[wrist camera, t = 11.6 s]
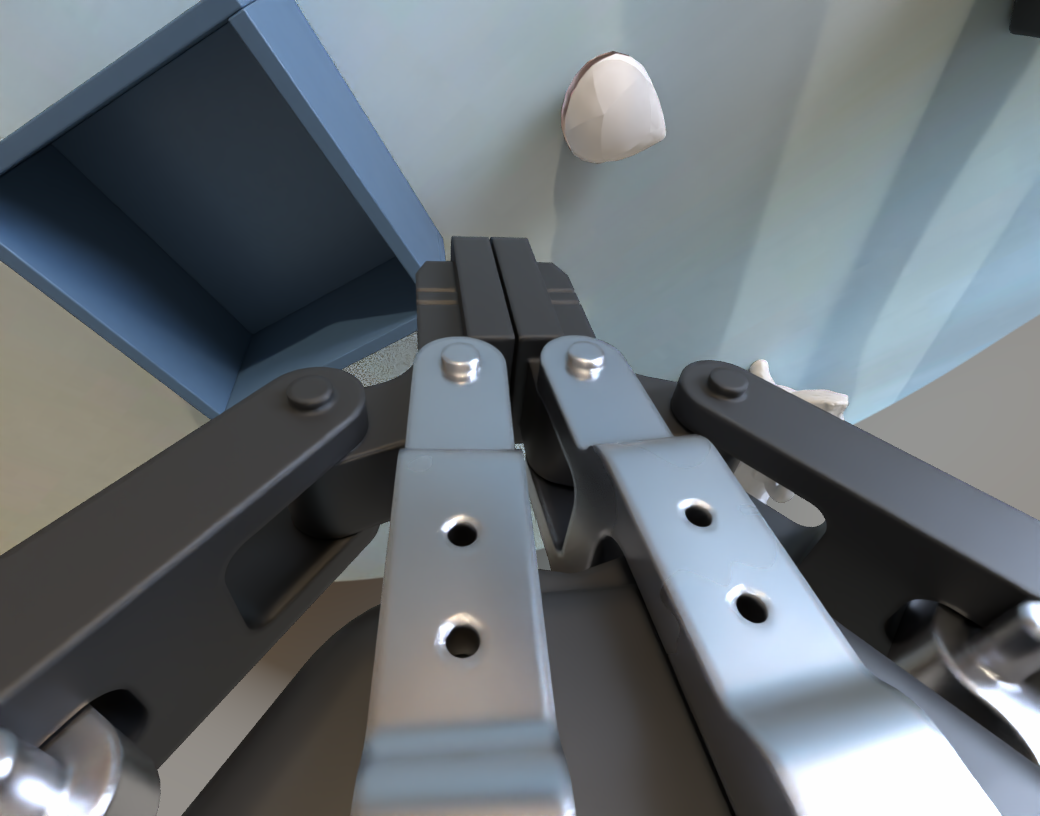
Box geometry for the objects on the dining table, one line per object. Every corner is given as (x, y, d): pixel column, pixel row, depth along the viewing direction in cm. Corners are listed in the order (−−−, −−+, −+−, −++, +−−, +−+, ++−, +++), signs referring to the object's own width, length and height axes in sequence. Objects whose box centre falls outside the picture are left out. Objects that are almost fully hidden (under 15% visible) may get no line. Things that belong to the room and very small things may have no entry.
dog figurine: (794, 310, 34) (909, 425, 27) (727, 450, 43) (799, 568, 35) (717, 311, 33) (813, 431, 26) (664, 454, 42) (724, 576, 34)
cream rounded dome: (583, 31, 22) (599, 42, 21) (680, 79, 24) (703, 93, 22) (542, 137, 25) (553, 155, 23) (633, 173, 27) (650, 192, 25)
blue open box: (-83, 198, 17) (223, 430, 25) (226, -18, 14) (452, 313, 22) (31, 132, 22) (254, 341, 30) (272, -36, 20) (443, 238, 27)
